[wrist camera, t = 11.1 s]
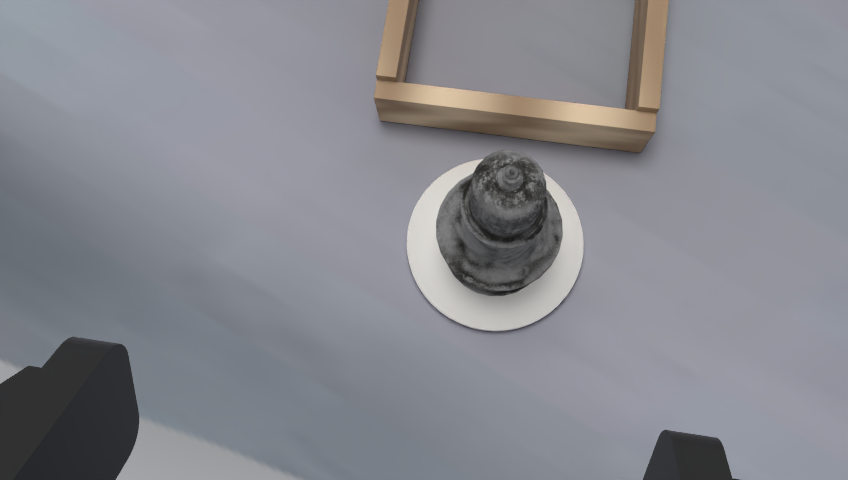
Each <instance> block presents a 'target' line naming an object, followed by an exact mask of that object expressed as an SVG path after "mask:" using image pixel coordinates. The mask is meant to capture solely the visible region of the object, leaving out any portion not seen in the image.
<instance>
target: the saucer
mask: <svg viewBox="0 0 848 480" xmlns="http://www.w3.org/2000/svg"><path fill="white" fill-rule="evenodd" d="M482 160H483V159H480V160H475V161H471V162H467V163H464V164H461V165H459V166H457V167H455V168H453V169H451V170H449V171H448V172H446V173H444V174H443V175H441V176H440V177H439V178H438V179H436V180H435V181H434V182H433V183H432V184H431V185H430V186H429V187H428V188H427V189H426V191H425V192H424V193H423V195H422V196H421V198H420V199H419V201H418V203H417V204H416V206H415V208H414V211H413V213H412V216H411V219H410V223H409V227H408V233H407V254H408V260H409V264H410V268H411V271H412V274H413V277H414V279H415V281H416V283H417V285H418V287H419V289H420V290H421V292H422V293H423V295H424V296H425V297H426V299H427V300H428V301H429V302H430V303H431V304H432V305H433V306H434V307H435V308H436V309H437V310H438V311H439V312H440V313H442V314H443V315H445V316H446V317H448V318H449V319H451V320H453V321H455V322H457V323H459V324H461V325H464V326H467V327H469V328H473V329H478V330H482V331H508V330H514V329H518V328H521V327H524V326H528V325H530V324H532V323H534V322H536V321H538V320H540V319H542V318H543V317H545V316H546V315H548V314H549V313H550V312H551V311H552V310H554V309H555V308H556V307H557V306H558V305H559V304H560V303H561V302H562V300H563V299H564V298H565V297H566V296H567V294H568V293H569V291H570V290H571V288H572V287H573V285H574V283H575V281H576V279H577V277H578V274H579V271H580V267H581V264H582V258H583V245H584V242H583V232H582V227H581V223H580V219H579V217H578V214H577V212H576V209H575V207H574V206H573V204H572V202H571V200H570V199H569V197H568V196H567V195H566V193H565V192H564V191H563V189H562V188H561V187H560V186H559V185H558V184H557V183H556V182H555V181H553V180H552V179H551V178H550V177H549V176H547V175H546V174H544V173H543V174H544V177H545V180H546V189H547V190H548V191H549V193H550V194H551V196H552V197H553V199H554V200H555V202H556V203H557V205H558V208H559V212H560V215H561V218H562V229H563V237H562V241H561V246H560V250H559V253H558V254H557V256H556V258H555V260H554V262H553V264H552V265H551V267H550V268H549V269H548V270H547V271H546V272H545V273H544V274H543V275H542V276H541V277H540V278H539V279H537V280H535V281H534V282H532V283H530V284H529V285H528V286H526V287H525V288H523V289H521V290H520V291H518V292H516V293H512V294H509V295H505V296H488V295H484V294H480V293H476V292H474V291H472V290H471V289H469V288H467V287H465V286H464V285H463V284H462V283H461V282H460V281H459V280H458V279H457V278H455V277H454V275H453V273H452V272H451V270H450V268H449V267H448V265H447V263H446V261H445V260H444V258H443V256H442V255H441V253H440V249H439V246H438V242H437V238H436V220H437V216H438V212H439V209H440V205H441V204H442V202H443V200H444V199H445V197H446V195H447V193H448V192H449V191H450V190H451V189H452V188H453V187H454V186H455V185H456V184H457V183H458V182H459V181H460V180H462V179H464V178H465V177H467V176H469V175H471V174H472V173H473V172H474V171H475V169H476V167H477V166H478V164H479V163H480V162H481V161H482Z"/></svg>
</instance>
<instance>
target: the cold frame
mask: <svg viewBox="0 0 848 480" xmlns="http://www.w3.org/2000/svg"><path fill="white" fill-rule="evenodd" d="M418 1H419V0H389V5H388V10H387V16H386V22H385V27H384V33H383V39H382V44H381V50H380V56H379V61H378V67H377V73H376V77H377V83H376V89H375V94H374V100H375V104H376V107H377V111H378V115H379V119H380V121H388V122H396V123H404V124H412V125H420V126H428V127H436V128H445V129H453V130H461V131H469V132H477V133H485V134H493V135H501V136H509V137H517V138H525V139H533V140H541V141H549V142H557V143H565V144H573V145H581V146H589V147H597V148H605V149H613V150H621V151H629V152H638V153H640V152H641V151H642V150H643V148H644V147H645V145H646V144H647V143H648V141H649V140H650V138H651V137H652V135H653V134H654V133H655V126H656V115H657V112H658V110H659V107H660V95H661V84H662V72H663V60H664V48H665V36H666V25H667V13H668V1H669V0H635V11H634V21H633V32H632V42H631V53H630V63H629V73H628V84H627V94H626V105H625V109H619V108H611V107H603V106H594V105H586V104H578V103H569V102H561V101H553V100H544V99H536V98H528V97H519V96H511V95H503V94H494V93H486V92H478V91H469V90H461V89H453V88H444V87H436V86H428V85H419V84H411V83H405V78H406V72H407V66H408V60H409V54H410V48H411V42H412V36H413V30H414V25H415V19H416V13H417V7H418Z"/></svg>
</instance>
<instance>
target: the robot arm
mask: <svg viewBox="0 0 848 480" xmlns="http://www.w3.org/2000/svg"><path fill="white" fill-rule="evenodd" d="M138 428H139V412H138V406H137V401H136V395H135V390H134V384H133V379H132V373H131V367H130V362H129V356H128V352H127V350H126V348H125V347H124V346H123V345H122V344H116V343H110V342H103V341H97V340H90V339H84V338H77V337H71V338H69V339H67V340H66V341H64V342H63V343H62V344H61V345H60V347H59V348H58V349H57V350H56V351H55V353H54V354H53V355H52V356H51V357H50V359H49V360H48V361H47V362H46V363H45V365H44V366H43V367H42V368H39V367H33V366H27V367H26V368H24V369H23V370H21V371H20V372H18V373H17V374H15V375H14V376H12V377H10V378H9V379H7V380H6V381H4V382H3V383H1V384H0V480H116V478H117V476H118V475H119V473H120V471H121V470H122V467H123V466H124V464H125V463H126V461H127V459H128V458H129V456H130V454H131V452H132V449H133V447H134V444H135V441H136V438H137V433H138ZM643 480H738V479H732V476H731V472H730V469H729V465H728V462H727V458H726V454H725V451H724V448H723V445H722V443H721V441H720V440H719V439H718V438H714V437H708V436H701V435H695V434H688V433H682V432H675V431H669V430H664V431H662V432H661V434H660V436H659V438H658V440H657V443H656V446H655V448H654V451H653V454H652V456H651V459H650V462H649V464H648V467H647V470H646V473H645V475H644V478H643Z"/></svg>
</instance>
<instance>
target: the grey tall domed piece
mask: <svg viewBox="0 0 848 480" xmlns="http://www.w3.org/2000/svg"><path fill="white" fill-rule="evenodd" d="M562 237H563V229H562V218H561V215H560V212H559V208H558V205H557V203H556V202H555V200H554V199H553V197H552V196H551V194H550V193H549V191H548V190H547V189H546V180H545V177H544V174H543V171H542V169H541V168H540V166H539V165H538V163H537V162H535V161H534V160H533V159H532V158H531V157H530V156H528V155H526V154H524V153H522V152H518V151H514V150H501V151H498V152H494V153H492V154H490V155H488V156H487V157H485V158H484V159H483V160H482V161H481V162H480V163H479V164H478V166H477V167H476V169H475V171H474V172H473V173H472V174H471V175H469V176H467V177H465V178H464V179H462V180H460V181H459V182H458V183H457V184H456V185H455V186H454V187H453V188H452V189H451V190H450V191H449V192H448V193H447V195H446V197H445V199H444V200H443V202H442V204H441V205H440V209H439V212H438V216H437V220H436V238H437V242H438V246H439V249H440V253H441V255H442V256H443V258H444V260H445V261H446V263H447V265H448V267H449V268H450V270H451V272H452V273H453V275H454V277H455V278H457V279H458V280H459V281H460V282H461V283H462V284H463V285H464V286H465V287H467V288H469V289H471V290H472V291H474V292H476V293H480V294H484V295H488V296H505V295H509V294H512V293H516V292H518V291H520V290H521V289H523V288H525V287H526V286H528V285H529V284H530V283H532V282H534V281H535V280H537V279H539V278H540V277H541V276H542V275H543V274H544V273H545V272H546V271H547V270H548V269H549V268H550V267H551V265H552V264H553V262H554V260H555V258H556V256H557V254H558V253H559V250H560V246H561V241H562Z"/></svg>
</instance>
